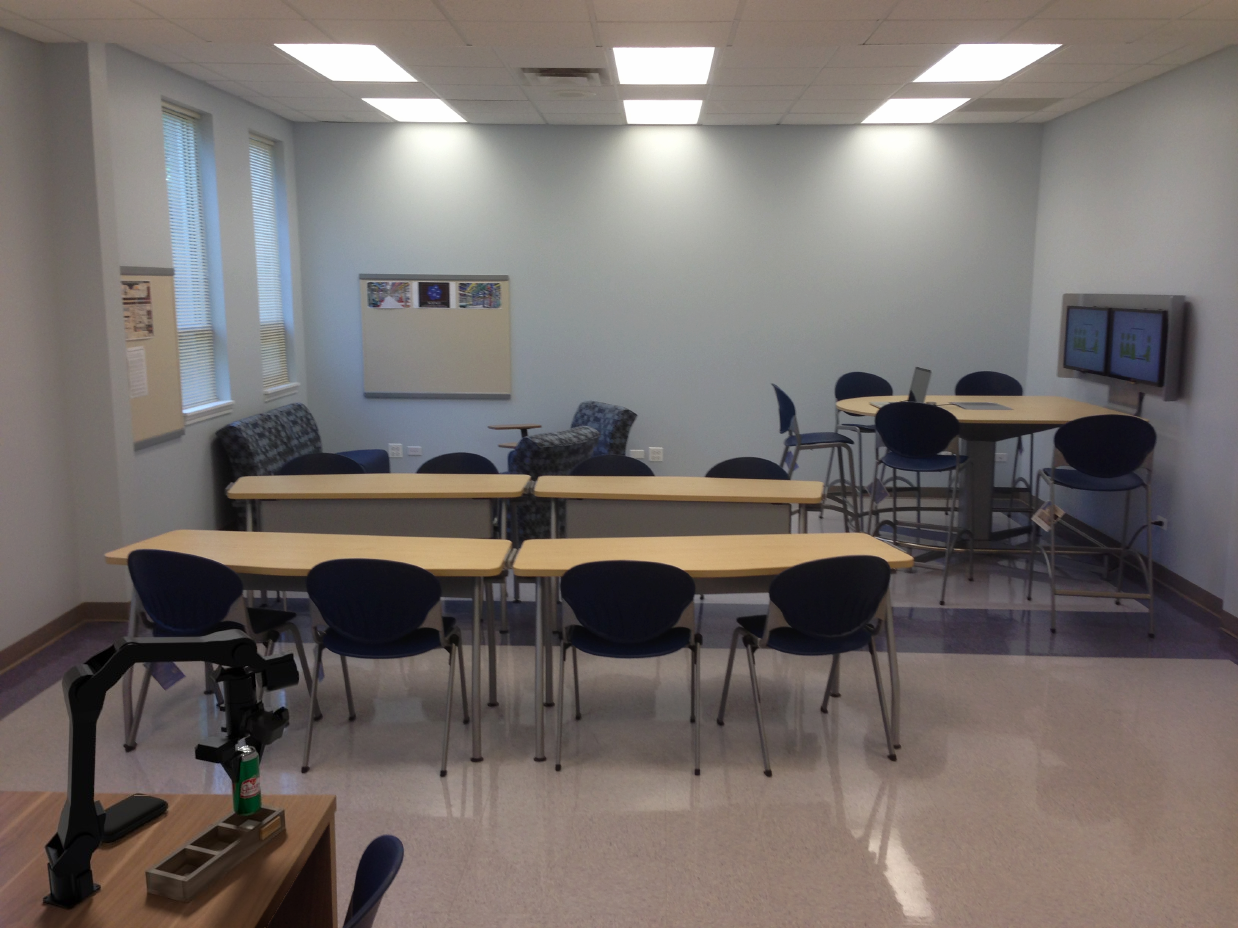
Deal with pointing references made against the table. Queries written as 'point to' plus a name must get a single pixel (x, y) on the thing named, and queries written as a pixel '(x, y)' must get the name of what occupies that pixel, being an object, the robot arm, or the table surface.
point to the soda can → (247, 783)
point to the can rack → (213, 853)
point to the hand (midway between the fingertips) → (245, 775)
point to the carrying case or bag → (131, 815)
